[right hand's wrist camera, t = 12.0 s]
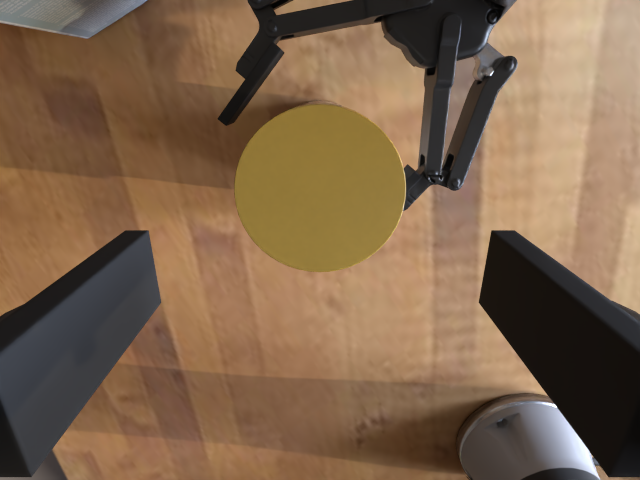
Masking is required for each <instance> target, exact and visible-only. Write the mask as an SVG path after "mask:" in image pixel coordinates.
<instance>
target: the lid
mask: <svg viewBox="0 0 640 480" xmlns="http://www.w3.org/2000/svg"><path fill="white" fill-rule="evenodd" d="M234 195H235V202H236V207H237V211H238V214H239V217H240V219H241V222H242V224H243V226H244V228H245V229H246V231H247V233H248V234H249V236H250V237H251V238H252V240H253V241H254V242H255V243H256V244H257V245H258V246H259V247H260V248H261V249H262V250H263V251H264V252H265V253H266V254H268V255H269V256H270V257H272V258H273V259H275V260H277V261H278V262H280V263H283V264H285V265H287V266H289V267H293V268H296V269H299V270H304V271H311V272H330V271H336V270H341V269H344V268H348V267H351V266H353V265H355V264H358V263H360V262H362V261H363V260H365V259H367V258H368V257H370V256H371V255H372V254H374V253H375V252H376V251H377V250H379V249H380V248H381V247H382V246H383V245H384V244H385V242H386V241H387V240H388V239H389V237H390V236H391V235H392V233H393V231H394V230H395V228H396V226H397V224H398V222H399V220H400V218H401V215H402V211H403V208H404V203H405V197H406V181H405V173H404V169H403V165H402V162H401V159H400V157H399V154H398V152H397V150H396V148H395V147H394V145H393V143H392V142H391V140H390V139H389V138H388V136H387V135H386V134H385V133H384V132H383V131H382V130H381V129H380V128H379V127H378V126H377V125H376V124H375V123H373V122H372V121H370V120H369V119H368V118H366V117H365V116H363V115H361V114H359V113H357V112H356V111H354V110H351V109H348V108H346V107H342V106H338V105H334V104H323V103H318V104H307V105H302V106H298V107H295V108H292V109H289V110H287V111H285V112H283V113H281V114H279V115H277V116H276V117H274V118H273V119H271V120H270V121H268V122H267V123H265V124H264V125H263V126H262V127H261V128H260V129H259V130H258V131H257V132H256V133H255V134H254V136H253V137H252V138H251V139H250V140H249V142H248V144H247V145H246V147H245V149H244V150H243V152H242V155H241V157H240V159H239V162H238V166H237V169H236V174H235V182H234Z"/></svg>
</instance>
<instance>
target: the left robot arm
mask: <svg viewBox="0 0 640 480" xmlns="http://www.w3.org/2000/svg"><path fill="white" fill-rule="evenodd" d="M291 1H293V0H248V3H249V5H250V6H251V8H252V10H253V11H254V13H255V15H256V17H257V19H258V21H259V31H258V33H257V35H256V36H255V38H254V39H253V41H252V42H251V44H250V45H249V47H248V48H247V49H246V51H245V52H244V54H243V56H242V57H241V58H240V60H239V61H238V63H237V67H236V71H237V72H238V73H239V74H240V75H241V76H242V77H244V78H245V81H244V82H243V83H242V85H241V86H240V88H239V89H238V91H237V92H236V93H235V95H234V96H233V98H232V99H231V100H230V102H229V103H228V105H227V106H226V108H225V109H224V110H223V112H222V113H221V115H220V116H219V117H218V120H220V121H221V122H222V123H223V124H225V125H226V126H227V125H229V124H232V123H234V122H235V121H236V119H237V118H238V116H239V115H240V114H241V112H242V111H243V109H244V108H245V107H246V105H247V104H248V103H249V101H250V100H251V98H252V97H253V96H254V94H255V93H256V92H257V90H258V89H259V87H260V86H261V85H262V83H263V82H264V80H265V79H266V78H267V76H268V75H269V74H270V72H271V71H272V69H273V68H274V67H275V65H276V64H277V63H278V61H279V60H280V58H281V57H282V56H283V54H284V52H283V51H282V50H281V49H280V48H279V47H278V46H277V45H276V44H277V43H278V42H279V41H280V40H285V39H291V38H296V37H301V36H306V35H311V34H316V33H321V32H327V31H332V30H337V29H342V28H347V27H352V26H358V25H367V24H373V23H378V22H381V25H382V30H383V33H384V34H385V35H384V37H385V38H386V39H387V40H388V41H389V42H390V43H391V44H392V45H394V46H396V47H398V48H399V49H401V50H402V52H403V54H404V56H405V58H406V59H407V60H408V61H409V62H410V63H411V64H412V65H413V66H417V67H419V68H425V76H424V86H425V95H424V106H423V117H422V128H421V139H420V150H419V161H418V169H417V170H416V171H415V170H414V169H413V168H411V167H410V166H409V165H408V164H407V166H406V167H405V168H404V173H405V181H406V197H405V203H404V208H403V211H404V210H406V209H408V207H409V206H410V205H411V204H412V203H413V202H414V201H415V200H416V199H417V198H418V197H419V196H420V195H421V194H422V193H423V192H424V191H425V190H426V189H427V188H428V187H429V186H431V185H433V184H434V185H436V184H439V185H441V186H444V187H447V188H449V189H451V190H455V191H456V190H459V189H460V188H461V187H462V185H463V183H464V180H465V178H466V175H467V172H468V170H469V167H470V165H471V162H472V159H473V157H474V154H475V152H476V149H477V146H478V144H479V141H480V139H481V136H482V133H483V131H484V128H485V126H486V123H487V120H488V118H489V115H490V113H491V110H492V107H493V105H494V102H495V100H496V97H497V94H498V92H499V91H500V89H501V88H502V87H503V86H504V84H505V83H506V82H507V80H508V79H509V78H510V77H511V75H512V74H513V73H514V71H515V70H516V68H517V64H518V63H517V60H516V58H515V57H513V56H506V57H504V56H503V55H501V54H500V53H499V52H498V51H497V50H495V49H494V48H493V47H492V46H491V45H489V44H488V43H487V40H488V37H489V34H490V32H491V30H492V28H493V27H494V25H495V24H496V23H497V22H498V21H499V20H500V19H501V17H502V16H503V15H504V14H505V13H506V12H507V11H508V10H509V8H510V7H511V6H512V5H513V4H514V3H515V2H516V0H352V1H347V2H342V3H337V4H332V5H327V6H322V7H317V8H312V9H307V10H301V11H296V12H291V13H286V14H281V15H276V14H275V12H274V10H275V9H277V8H279V7H281V6H283V5H285V4H287V3H289V2H291ZM470 57H474V59H475V63H476V64H475V68H474V70H473V78H474V79H475V81H474V82H473V84H472V86H471V88H470V90H469V93H468V95H467V98H466V101H465V103H464V106H463V109H462V112H461V115H460V117H459V120H458V123H457V126H456V129H455V131H454V134H453V137H452V140H451V143H450V145H449V148H448V151H447V154H446V157H445V159H444V162H443V153H444V144H445V135H446V126H447V118H448V109H449V100H450V91H451V87H452V85H453V82H454V76H455V68H456V61H458V60H462V59H466V58H470ZM442 162H443V165H442Z"/></svg>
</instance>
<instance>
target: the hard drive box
mask: <svg viewBox="0 0 640 480" xmlns="http://www.w3.org/2000/svg"><path fill="white" fill-rule="evenodd" d="M146 1H147V0H0V23H4V24H9V25H14V26H20V27H25V28H31V29H37V30H42V31H48V32H53V33H58V34H63V35H69V36H75V37H80V38H85V39H88V38H90V37H92V36H93V35H95V34H96V33H98V32H100V31H101V30H103V29H104V28H106V27H107V26H109V25H111V24H112V23H114V22H115V21H117V20H118V19H120V18H121V17H123V16H124V15H126V14H127V13H129V12H131V11H132V10H134V9H135V8H137V7H138V6H140V5H141V4H143V3H144V2H146Z"/></svg>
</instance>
